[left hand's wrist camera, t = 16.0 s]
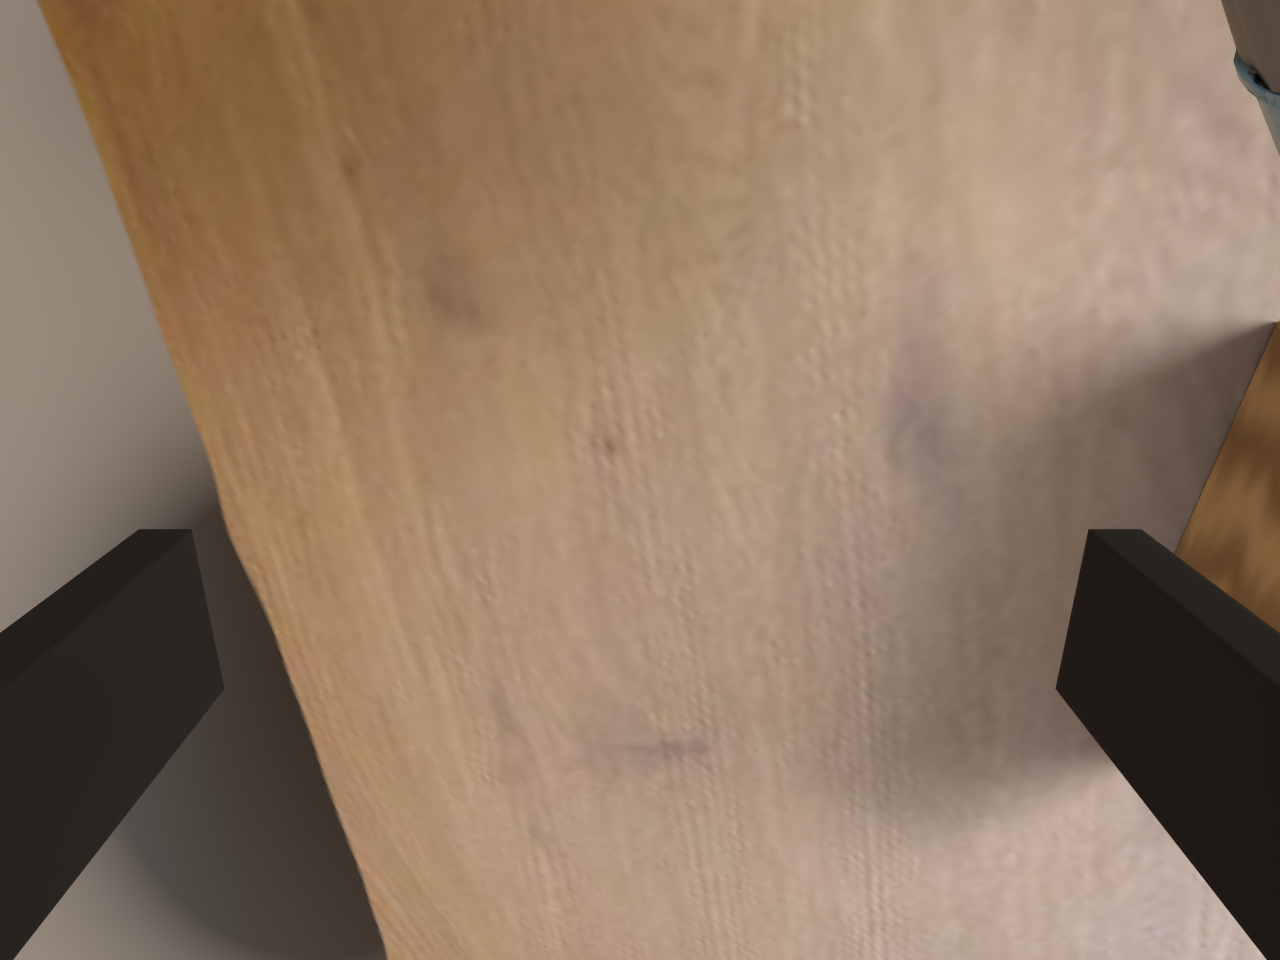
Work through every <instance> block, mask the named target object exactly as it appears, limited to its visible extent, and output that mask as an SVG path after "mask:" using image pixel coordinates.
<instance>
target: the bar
mask: <svg viewBox="0 0 1280 960" xmlns="http://www.w3.org/2000/svg"><path fill="white" fill-rule="evenodd" d="M1175 555H1176V556H1177V557H1179V558H1180V559H1181V560H1183V561H1184V562H1185V563H1187V564H1188V565H1189V566H1191V567H1192V568H1193V569H1195V570H1196V571H1197V572H1199V573H1200V574H1201V575H1203V576H1204V577H1205V578H1207V579H1208V580H1210V581H1211V582H1212V583H1214V584H1215V585H1216V586H1218V587H1219V588H1220V589H1222V590H1223V591H1224V592H1226V593H1227V594H1228V595H1230V596H1231V597H1232V598H1234V599H1235V600H1236V601H1238V602H1239V603H1240V604H1242V605H1243V606H1244V607H1246V608H1247V609H1248V610H1250V611H1251V612H1252V613H1254V614H1255V615H1256V616H1258V617H1259V618H1260V619H1262V620H1263V621H1264V622H1266V623H1267V624H1269V625H1270V626H1271V627H1273V628H1274V629H1275V630H1277V631H1278V632H1279V633H1280V321H1279V322H1277V323H1276V326H1275V328H1274V330H1273V332H1272V335H1271V337H1270V339H1269V341H1268V344H1267V346H1266V348H1265V351H1264V353H1263V355H1262V357H1261V360H1260V362H1259V364H1258V366H1257V369H1256V371H1255V373H1254V376H1253V378H1252V380H1251V382H1250V385H1249V387H1248V389H1247V391H1246V394H1245V396H1244V398H1243V400H1242V403H1241V405H1240V407H1239V410H1238V412H1237V414H1236V416H1235V419H1234V421H1233V423H1232V425H1231V428H1230V430H1229V432H1228V435H1227V437H1226V439H1225V441H1224V444H1223V446H1222V448H1221V450H1220V453H1219V455H1218V457H1217V459H1216V462H1215V464H1214V466H1213V469H1212V471H1211V473H1210V475H1209V478H1208V480H1207V482H1206V484H1205V487H1204V489H1203V491H1202V494H1201V496H1200V498H1199V500H1198V503H1197V505H1196V507H1195V509H1194V512H1193V514H1192V516H1191V518H1190V521H1189V523H1188V525H1187V528H1186V530H1185V532H1184V534H1183V537H1182V539H1181V541H1180V543H1179V546H1178V548H1177V550H1176V553H1175Z"/></svg>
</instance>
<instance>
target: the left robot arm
mask: <svg viewBox="0 0 1280 960" xmlns="http://www.w3.org/2000/svg"><path fill="white" fill-rule="evenodd" d="M1221 1H1222V4H1223V8H1224V11H1225V14H1226V17H1227V20H1228V23H1229V26H1230V30H1231V33H1232V36H1233V39H1234V42H1235V45H1236V54H1235V58H1234V65H1235V68H1236V71H1237V74H1238V76H1239V79H1240V81H1241V82H1242V83H1243V85H1244V86H1245V88H1246V89H1247V90H1248V91H1249V92H1250V93H1251V94H1253V95H1254V96H1255V97H1257V100H1258V102H1259V105H1260V107H1261V110H1262V112H1263V115H1264V117H1265V120H1266V122H1267V125H1268V127H1269V130H1270V133H1271V135H1272V138H1273V140H1274V143H1275V145H1276V148H1277V150H1278V153H1279V155H1280V0H1221ZM223 690H224V685H223V680H222V675H221V670H220V665H219V660H218V656H217V651H216V646H215V641H214V636H213V631H212V627H211V622H210V617H209V612H208V607H207V602H206V598H205V593H204V588H203V583H202V578H201V573H200V568H199V564H198V559H197V554H196V549H195V544H194V539H193V535H192V530H191V529H139V530H138V531H136V532H135V533H134V534H132V535H131V536H129V537H128V538H127V539H125V540H124V541H123V542H121V543H120V544H119V545H117V546H116V547H115V548H113V549H112V550H111V551H109V552H108V553H107V554H105V555H104V556H103V557H101V558H100V559H99V560H97V561H96V562H95V563H93V564H92V565H91V566H89V567H88V568H87V569H85V570H84V571H83V572H81V573H80V574H79V575H77V576H76V577H75V578H73V579H72V580H70V581H69V582H68V583H67V584H65V585H64V586H62V587H61V588H60V589H58V590H57V591H56V592H54V593H53V594H52V595H50V596H49V597H48V598H46V599H45V600H44V601H42V602H41V603H40V604H38V605H37V606H36V607H34V608H33V609H32V610H30V611H29V612H28V613H26V614H25V615H24V616H22V617H21V618H20V619H18V620H17V621H16V622H14V623H13V624H11V625H10V626H9V627H7V628H6V629H5V630H3V631H2V632H1V633H0V960H13V959H14V958H15V957H16V955H17V954H18V953H19V952H20V950H21V949H22V948H23V946H24V945H25V944H26V943H27V941H28V940H29V939H30V937H31V936H32V935H33V934H34V932H35V931H36V930H37V929H38V927H39V926H40V925H41V923H42V922H43V921H44V920H45V918H46V917H47V916H48V914H49V913H50V912H51V910H52V909H53V908H54V907H55V905H56V904H57V903H58V902H59V900H60V899H61V898H62V896H63V895H64V894H65V893H66V891H67V890H68V889H69V887H70V886H71V885H72V884H73V882H74V881H75V880H76V878H77V877H78V876H79V875H80V873H81V872H82V871H83V870H84V868H85V867H86V866H87V864H88V863H89V862H90V860H91V859H92V858H93V857H94V855H95V854H96V853H97V852H98V850H99V849H100V848H101V846H102V845H103V844H104V843H105V841H106V840H107V839H108V837H109V836H110V835H111V834H112V832H113V831H114V830H115V828H116V827H117V826H118V825H119V823H120V822H121V821H122V819H123V818H124V817H125V816H126V814H127V813H128V812H129V810H130V809H131V808H132V807H133V805H134V804H135V803H136V802H137V800H138V799H139V798H140V796H141V795H142V794H143V793H144V791H145V790H146V789H147V787H148V786H149V785H150V784H151V782H152V781H153V780H154V778H155V777H156V776H157V774H158V773H159V772H160V771H161V769H162V768H163V767H164V766H165V764H166V763H167V762H168V760H169V759H170V758H171V757H172V755H173V754H174V753H175V751H176V750H177V749H178V748H179V746H180V745H181V744H182V742H183V741H184V740H185V739H186V737H187V736H188V735H189V734H190V732H191V731H192V730H193V728H194V727H195V726H196V725H197V723H198V722H199V721H200V719H201V718H202V717H203V716H204V714H205V713H206V712H207V710H208V709H209V708H210V707H211V705H212V704H213V703H214V701H215V700H216V699H217V698H218V696H219V695H220V694H221V693H222V691H223ZM1056 690H1057V691H1058V693H1059V694H1060V695H1061V696H1062V698H1063V699H1064V700H1065V701H1066V703H1067V704H1068V705H1069V707H1070V708H1071V709H1072V710H1073V712H1074V713H1075V714H1076V716H1077V717H1078V718H1079V719H1080V721H1081V722H1082V723H1083V725H1084V726H1085V727H1086V728H1087V730H1088V731H1089V732H1090V734H1091V735H1092V736H1093V737H1094V739H1095V740H1096V741H1097V743H1098V744H1099V745H1100V746H1101V748H1102V749H1103V750H1104V752H1105V753H1106V754H1107V755H1108V757H1109V758H1110V759H1111V760H1112V762H1113V763H1114V764H1115V766H1116V767H1117V768H1118V769H1119V771H1120V772H1121V773H1122V775H1123V776H1124V777H1125V778H1126V780H1127V781H1128V782H1129V784H1130V785H1131V786H1132V787H1133V789H1134V790H1135V791H1136V793H1137V794H1138V795H1139V796H1140V798H1141V799H1142V800H1143V802H1144V803H1145V804H1146V805H1147V807H1148V808H1149V809H1150V811H1151V812H1152V813H1153V814H1154V816H1155V817H1156V818H1157V819H1158V821H1159V822H1160V823H1161V825H1162V826H1163V827H1164V828H1165V830H1166V831H1167V832H1168V834H1169V835H1170V836H1171V837H1172V839H1173V840H1174V841H1175V843H1176V844H1177V845H1178V846H1179V848H1180V849H1181V850H1182V852H1183V853H1184V854H1185V855H1186V857H1187V858H1188V859H1189V861H1190V862H1191V863H1192V864H1193V866H1194V867H1195V868H1196V870H1197V871H1198V872H1199V873H1200V875H1201V876H1202V877H1203V878H1204V880H1205V881H1206V882H1207V884H1208V885H1209V886H1210V887H1211V889H1212V890H1213V891H1214V893H1215V894H1216V895H1217V896H1218V898H1219V899H1220V900H1221V902H1222V903H1223V904H1224V905H1225V907H1226V908H1227V909H1228V911H1229V912H1230V913H1231V914H1232V916H1233V917H1234V918H1235V920H1236V921H1237V922H1238V923H1239V925H1240V926H1241V927H1242V929H1243V930H1244V931H1245V932H1246V934H1247V935H1248V936H1249V937H1250V939H1251V940H1252V941H1253V943H1254V944H1255V945H1256V946H1257V948H1258V949H1259V950H1260V952H1261V953H1262V954H1263V955H1264V957H1265V958H1266V959H1267V960H1280V633H1279V632H1278V631H1277V630H1275V629H1274V628H1273V627H1271V626H1270V625H1269V624H1267V623H1266V622H1264V621H1263V620H1262V619H1260V618H1259V617H1258V616H1256V615H1255V614H1254V613H1252V612H1251V611H1250V610H1248V609H1247V608H1246V607H1244V606H1243V605H1242V604H1240V603H1239V602H1238V601H1236V600H1235V599H1234V598H1232V597H1231V596H1230V595H1228V594H1227V593H1226V592H1224V591H1223V590H1222V589H1220V588H1219V587H1218V586H1216V585H1215V584H1214V583H1212V582H1211V581H1210V580H1208V579H1207V578H1205V577H1204V576H1203V575H1201V574H1200V573H1199V572H1197V571H1196V570H1195V569H1193V568H1192V567H1191V566H1189V565H1188V564H1187V563H1185V562H1184V561H1183V560H1181V559H1180V558H1179V557H1177V556H1176V555H1175V554H1173V553H1172V552H1171V551H1169V550H1168V549H1167V548H1165V547H1164V546H1163V545H1161V544H1160V543H1159V542H1157V541H1156V540H1155V539H1153V538H1152V537H1151V536H1149V535H1148V534H1147V533H1145V532H1144V531H1142V530H1141V529H1089V530H1088V535H1087V539H1086V544H1085V549H1084V554H1083V559H1082V564H1081V568H1080V573H1079V578H1078V583H1077V588H1076V593H1075V597H1074V602H1073V607H1072V612H1071V617H1070V622H1069V627H1068V631H1067V636H1066V641H1065V646H1064V651H1063V656H1062V660H1061V665H1060V670H1059V675H1058V680H1057V685H1056Z"/></svg>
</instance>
